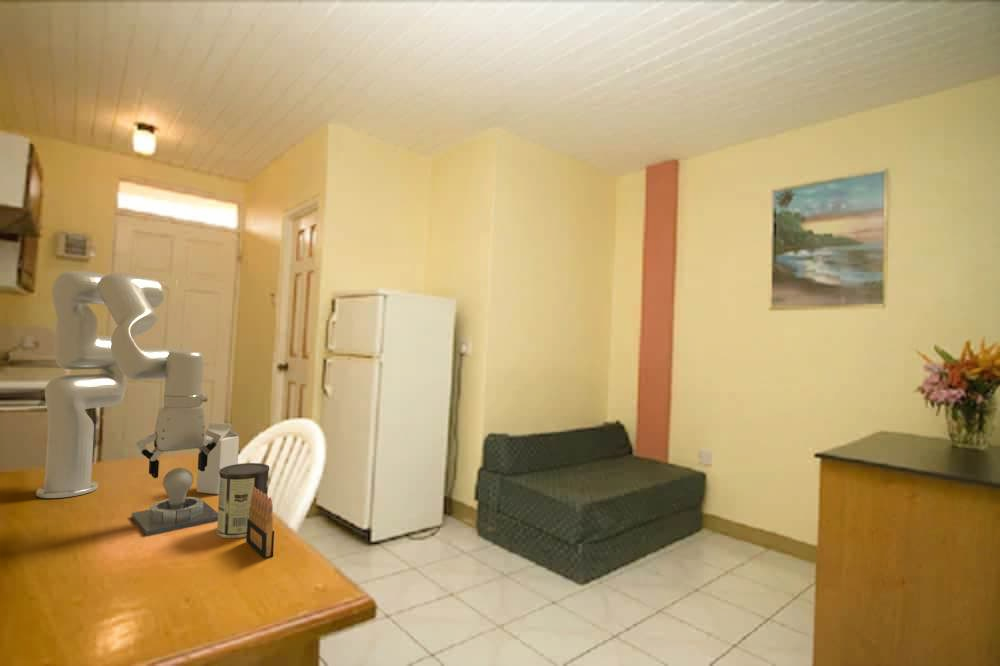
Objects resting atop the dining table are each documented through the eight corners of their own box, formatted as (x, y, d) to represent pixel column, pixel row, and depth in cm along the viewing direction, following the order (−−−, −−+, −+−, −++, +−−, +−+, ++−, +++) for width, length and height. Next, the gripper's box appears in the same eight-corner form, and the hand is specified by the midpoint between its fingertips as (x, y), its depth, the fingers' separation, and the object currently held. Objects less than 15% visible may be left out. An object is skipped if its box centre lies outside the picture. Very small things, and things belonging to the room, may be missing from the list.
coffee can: (256, 518, 121) (259, 460, 121) (273, 530, 113) (276, 469, 114) (209, 528, 113) (212, 467, 113) (225, 542, 106) (228, 477, 106)
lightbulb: (159, 520, 114) (161, 472, 114) (162, 511, 119) (165, 466, 120) (190, 516, 117) (192, 470, 117) (192, 508, 122) (194, 464, 122)
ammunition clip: (273, 556, 100) (276, 497, 101) (263, 559, 99) (267, 499, 99) (255, 540, 108) (257, 485, 108) (245, 542, 107) (248, 486, 107)
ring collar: (131, 517, 118) (132, 502, 118) (202, 503, 129) (202, 490, 129) (146, 536, 107) (146, 520, 107) (221, 520, 118) (222, 505, 118)
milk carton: (218, 495, 136) (221, 426, 136) (196, 492, 137) (199, 424, 138) (236, 487, 143) (240, 422, 143) (215, 485, 144) (219, 420, 145)
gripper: (217, 398, 127) (213, 464, 127) (135, 402, 115) (131, 475, 115) (227, 401, 122) (223, 471, 122) (142, 406, 110) (138, 483, 109)
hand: (178, 473), depth 118 cm, fingers open, 9 cm apart
